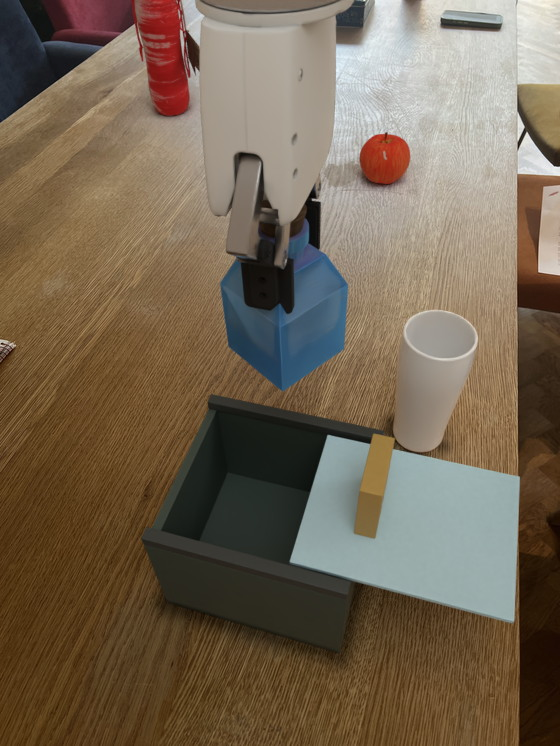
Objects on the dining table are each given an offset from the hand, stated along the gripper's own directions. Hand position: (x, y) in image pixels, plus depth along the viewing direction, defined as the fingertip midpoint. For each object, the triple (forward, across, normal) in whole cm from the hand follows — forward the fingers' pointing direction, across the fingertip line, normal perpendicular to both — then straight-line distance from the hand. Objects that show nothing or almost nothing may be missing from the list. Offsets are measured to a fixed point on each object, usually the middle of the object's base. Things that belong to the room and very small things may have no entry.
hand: (283, 275), depth 41 cm
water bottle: (+27, -77, -46) cm, 94 cm away
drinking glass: (+28, -11, +11) cm, 32 cm away
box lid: (+16, +6, +11) cm, 21 cm away
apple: (+28, -62, -2) cm, 67 cm away
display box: (+27, +6, 0) cm, 28 cm away
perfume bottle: (+7, 0, 0) cm, 7 cm away
